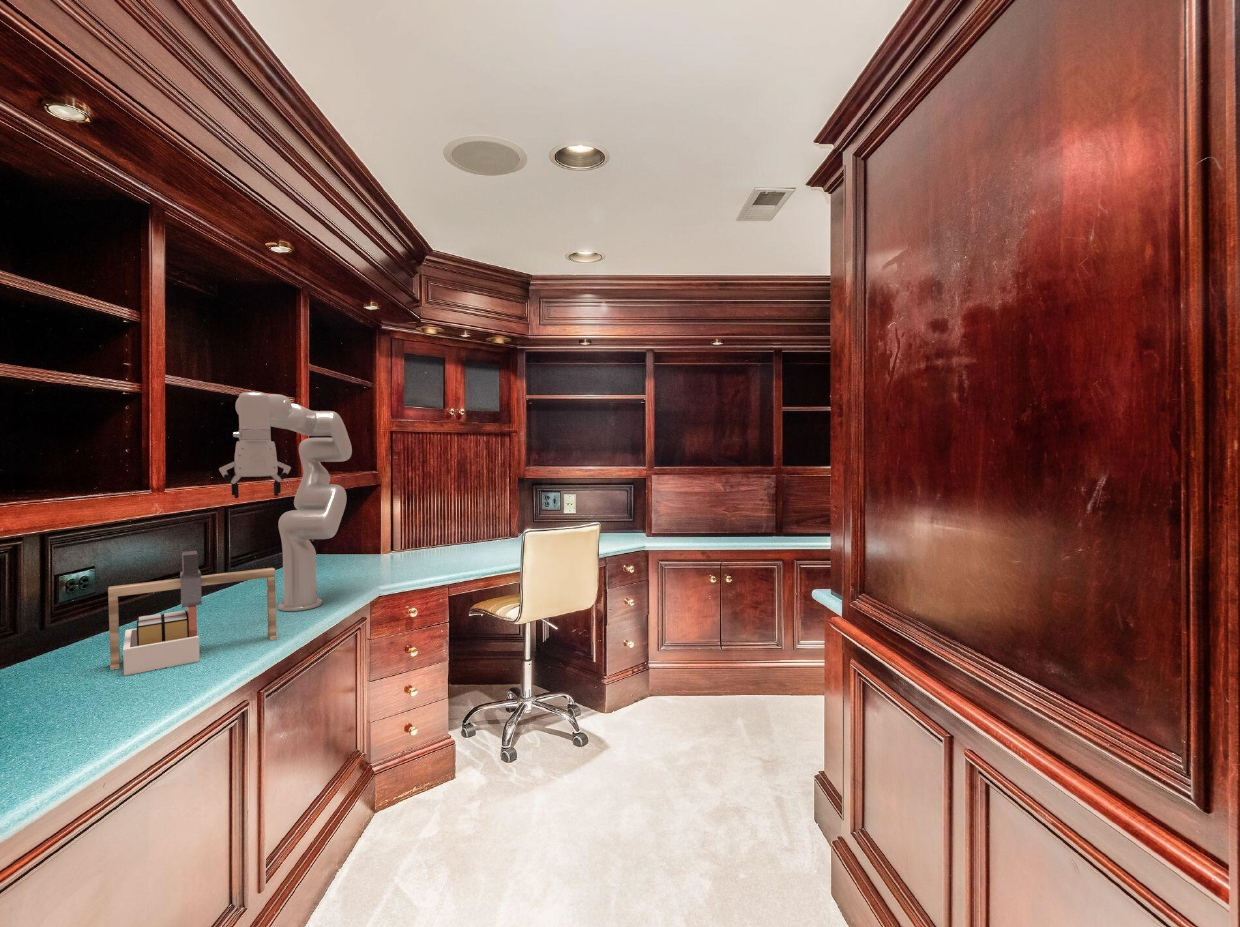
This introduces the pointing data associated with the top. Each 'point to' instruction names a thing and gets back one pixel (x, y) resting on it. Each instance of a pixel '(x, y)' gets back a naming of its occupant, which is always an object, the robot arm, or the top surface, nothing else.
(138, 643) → the puzzle cube
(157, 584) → the rail gantry
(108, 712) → the top surface
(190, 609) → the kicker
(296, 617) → the top surface
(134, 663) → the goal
